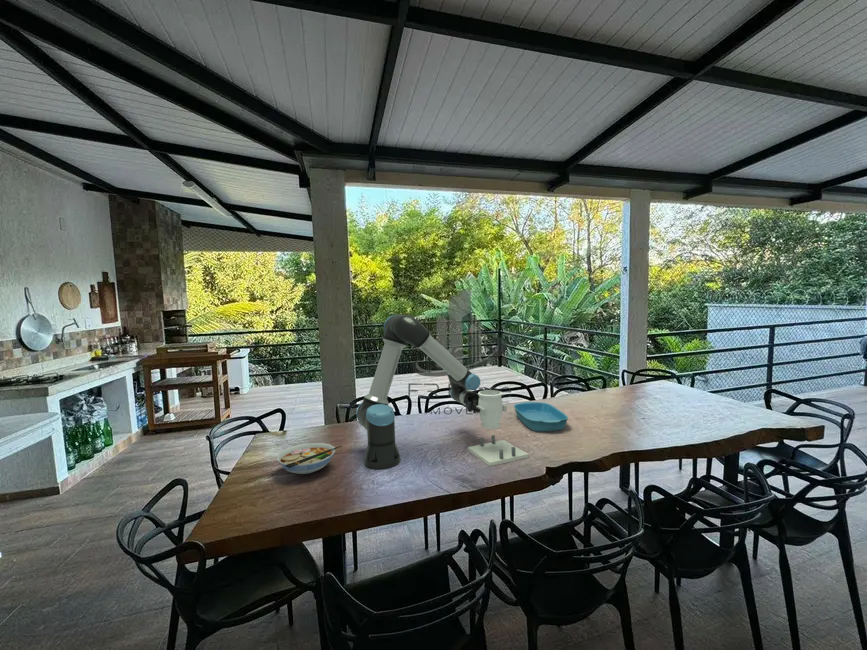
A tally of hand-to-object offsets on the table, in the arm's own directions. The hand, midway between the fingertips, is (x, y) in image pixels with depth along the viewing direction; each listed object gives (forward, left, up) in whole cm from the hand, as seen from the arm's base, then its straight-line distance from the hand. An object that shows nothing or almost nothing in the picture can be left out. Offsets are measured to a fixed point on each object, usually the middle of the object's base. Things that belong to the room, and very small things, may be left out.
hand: (495, 410), depth 166 cm
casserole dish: (+44, +27, -20) cm, 55 cm away
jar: (0, +4, -8) cm, 9 cm away
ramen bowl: (-76, +23, -20) cm, 82 cm away
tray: (+1, +1, -20) cm, 20 cm away
